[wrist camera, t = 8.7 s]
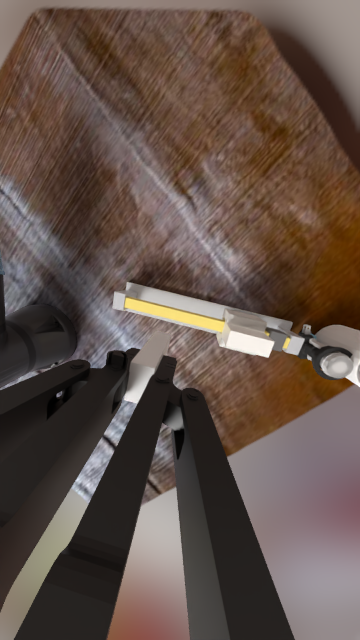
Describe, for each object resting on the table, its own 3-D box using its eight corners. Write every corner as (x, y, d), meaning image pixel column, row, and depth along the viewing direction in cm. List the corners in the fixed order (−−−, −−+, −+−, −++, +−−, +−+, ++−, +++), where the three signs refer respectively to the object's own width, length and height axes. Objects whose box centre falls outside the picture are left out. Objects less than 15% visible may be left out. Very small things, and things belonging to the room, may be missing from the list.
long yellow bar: (124, 307, 33) (116, 309, 30) (126, 292, 32) (118, 293, 30) (289, 349, 31) (299, 356, 28) (296, 334, 30) (306, 339, 28)
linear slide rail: (124, 309, 38) (108, 315, 31) (128, 282, 36) (113, 282, 30) (279, 348, 35) (297, 363, 29) (291, 321, 34) (311, 331, 28)
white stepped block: (216, 335, 34) (222, 356, 24) (224, 308, 32) (234, 319, 23) (246, 343, 33) (264, 367, 24) (256, 315, 32) (279, 330, 23)
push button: (290, 323, 34) (323, 341, 24) (319, 323, 33) (366, 341, 24) (286, 354, 36) (316, 382, 26) (314, 355, 35) (356, 384, 25)
